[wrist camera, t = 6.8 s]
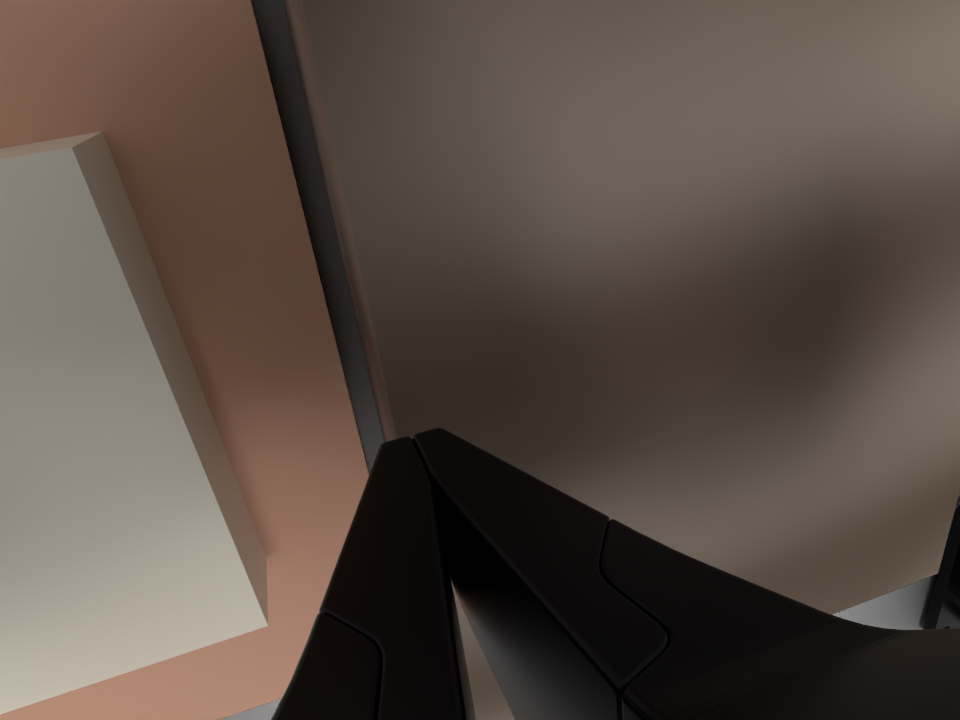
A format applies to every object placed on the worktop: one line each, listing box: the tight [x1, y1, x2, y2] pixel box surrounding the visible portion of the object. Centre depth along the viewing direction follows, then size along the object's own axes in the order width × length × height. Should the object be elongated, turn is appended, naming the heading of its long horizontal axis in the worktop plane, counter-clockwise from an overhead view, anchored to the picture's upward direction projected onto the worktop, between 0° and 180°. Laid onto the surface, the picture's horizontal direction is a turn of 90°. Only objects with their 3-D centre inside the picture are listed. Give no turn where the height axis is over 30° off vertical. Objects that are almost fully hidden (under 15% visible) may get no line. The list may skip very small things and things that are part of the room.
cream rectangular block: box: [0, 131, 268, 714], centre depth 11 cm, size 9×6×2 cm, turn 8°
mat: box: [0, 0, 369, 720], centre depth 12 cm, size 18×10×1 cm, turn 7°
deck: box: [283, 0, 960, 720], centre depth 13 cm, size 16×12×4 cm
